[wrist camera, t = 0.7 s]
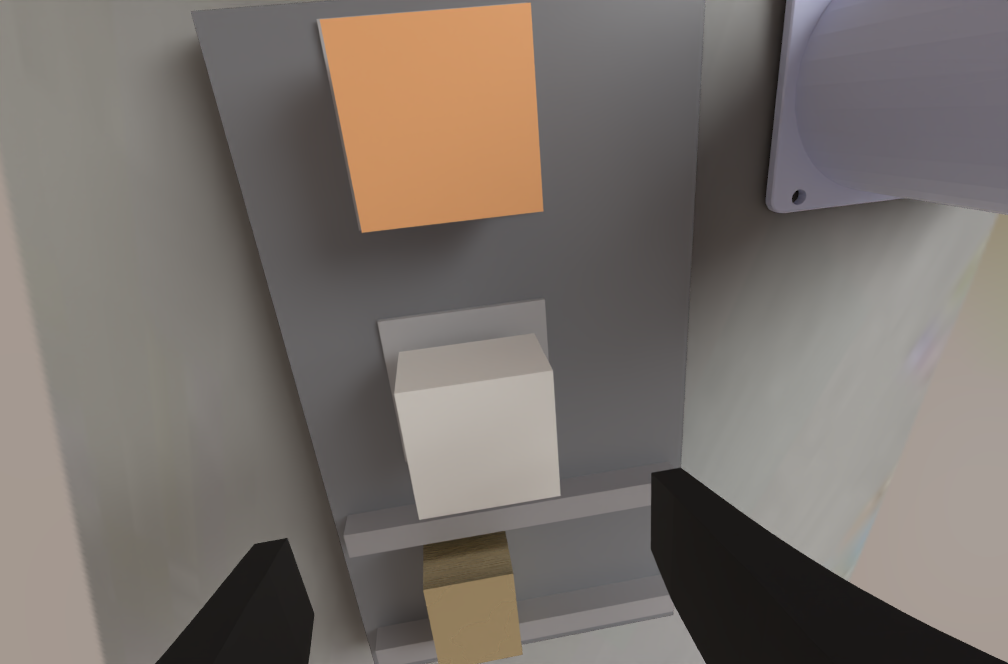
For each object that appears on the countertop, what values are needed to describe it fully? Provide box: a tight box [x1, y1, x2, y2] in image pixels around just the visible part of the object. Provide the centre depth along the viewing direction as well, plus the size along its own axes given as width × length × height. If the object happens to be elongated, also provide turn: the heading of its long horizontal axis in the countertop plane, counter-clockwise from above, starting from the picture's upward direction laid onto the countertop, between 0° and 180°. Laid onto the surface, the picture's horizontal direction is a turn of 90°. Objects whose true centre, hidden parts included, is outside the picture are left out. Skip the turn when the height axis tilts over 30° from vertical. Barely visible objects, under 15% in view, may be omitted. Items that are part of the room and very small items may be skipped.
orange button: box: [320, 3, 543, 233], centre depth 12 cm, size 4×4×2 cm
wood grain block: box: [423, 531, 523, 664], centre depth 19 cm, size 3×4×2 cm
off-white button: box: [394, 333, 561, 520], centre depth 15 cm, size 4×4×2 cm
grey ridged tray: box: [191, 0, 705, 664], centre depth 18 cm, size 13×24×3 cm, turn 5°
